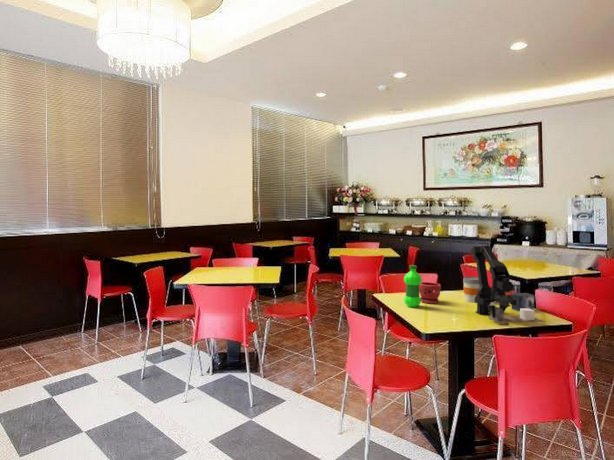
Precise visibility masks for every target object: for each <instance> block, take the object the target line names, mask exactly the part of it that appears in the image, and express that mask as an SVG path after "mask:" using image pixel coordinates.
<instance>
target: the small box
mask: <svg viewBox="0 0 614 460" xmlns="http://www.w3.org/2000/svg"><path fill="white" fill-rule="evenodd" d="M511 294H512V296H513V298H514V299H516V300H517V305H511V310H513V311H517V312H519V313H520V308H529V309H532V310H534V311H535V295H534V294H531V293H528V292H523V293H522V292H518V293H511Z"/></svg>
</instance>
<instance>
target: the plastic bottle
mask: <svg viewBox="0 0 614 460" xmlns="http://www.w3.org/2000/svg"><path fill="white" fill-rule="evenodd" d="M408 267H409V268H408V269H410V271H408V272H407V273H406V274H405V275H404V277H403V282H404V283H405V295H404V296H405V297H404V298H403V301H404V304H405V305H406V306H407V307H408V308H417V307H418V306H419V305H420V304H421V302H422V301H421V299H420V298H421V296H420V291H419V284H420V283H421V282H422V280H423V278H422V275H420V274H419V273H418V272H417V269H418V268H417V265H414V264H410V265H409V266H408Z"/></svg>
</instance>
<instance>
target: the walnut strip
mask: <svg viewBox="0 0 614 460" xmlns="http://www.w3.org/2000/svg"><path fill="white" fill-rule="evenodd" d="M487 316H488V318H487V319H490V320H491V321H493V322H495V323H497V324H499V325H510V323H544V322H545V321H544V320H542V319H539V318H537V317H535V316H534V320H524V319H522V318H520V315H504V314H503V309H501V308H499V306H495V308H494V318H493V317H492V315H487Z"/></svg>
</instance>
